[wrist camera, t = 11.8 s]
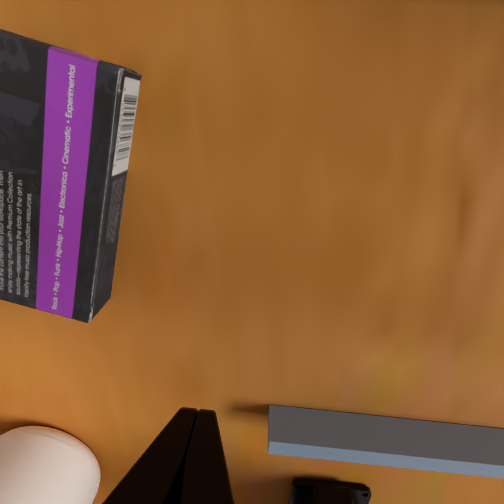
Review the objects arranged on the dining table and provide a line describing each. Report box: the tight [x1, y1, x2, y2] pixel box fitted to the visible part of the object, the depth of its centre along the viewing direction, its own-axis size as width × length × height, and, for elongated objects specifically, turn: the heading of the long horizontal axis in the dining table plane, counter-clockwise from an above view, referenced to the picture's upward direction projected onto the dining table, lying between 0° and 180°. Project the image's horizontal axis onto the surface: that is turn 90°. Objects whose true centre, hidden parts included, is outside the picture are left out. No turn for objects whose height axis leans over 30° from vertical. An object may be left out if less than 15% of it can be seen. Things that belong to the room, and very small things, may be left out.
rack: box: [268, 405, 504, 478], centre depth 18 cm, size 28×18×3 cm, turn 175°
